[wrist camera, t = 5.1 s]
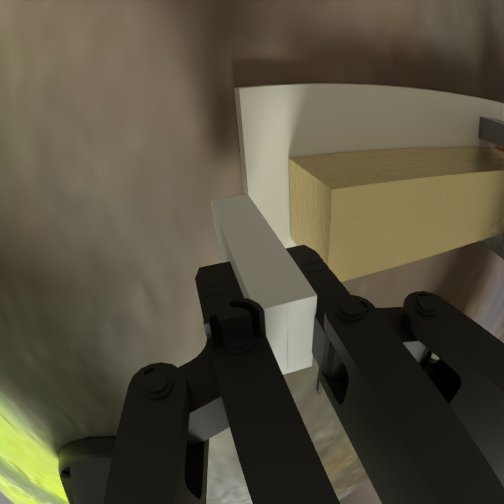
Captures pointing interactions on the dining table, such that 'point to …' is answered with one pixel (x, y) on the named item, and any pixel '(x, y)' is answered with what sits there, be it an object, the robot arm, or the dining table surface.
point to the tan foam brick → (394, 204)
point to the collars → (500, 136)
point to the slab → (342, 130)
